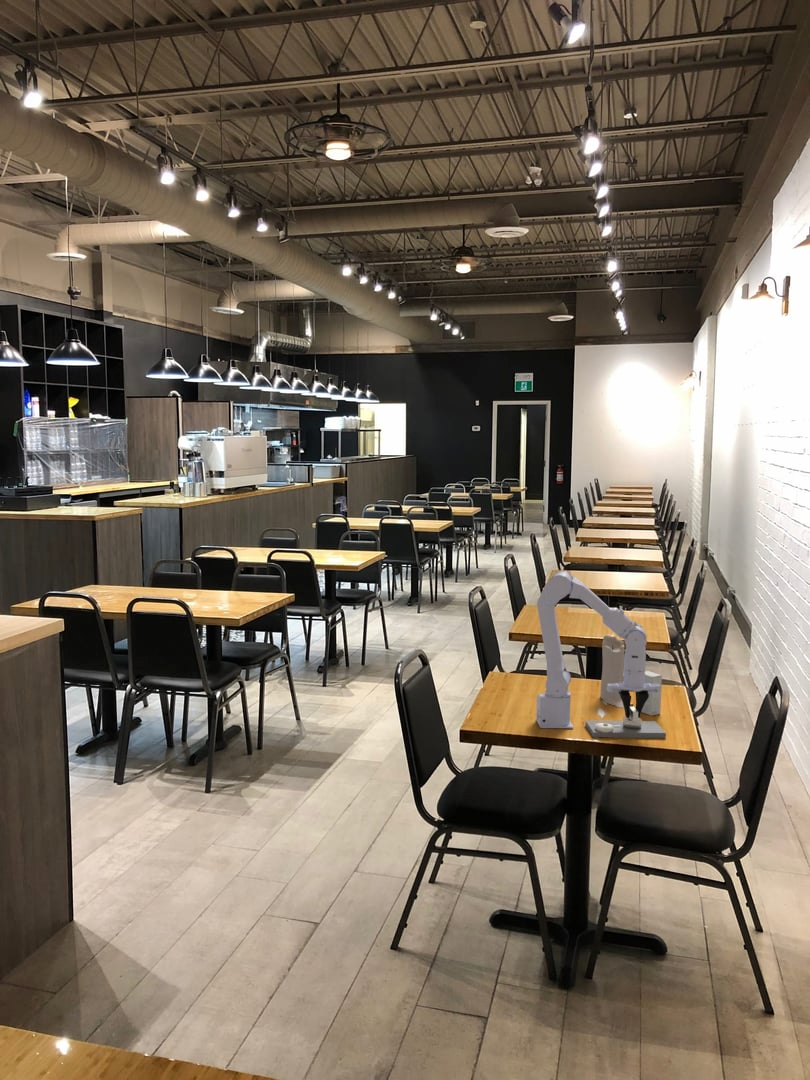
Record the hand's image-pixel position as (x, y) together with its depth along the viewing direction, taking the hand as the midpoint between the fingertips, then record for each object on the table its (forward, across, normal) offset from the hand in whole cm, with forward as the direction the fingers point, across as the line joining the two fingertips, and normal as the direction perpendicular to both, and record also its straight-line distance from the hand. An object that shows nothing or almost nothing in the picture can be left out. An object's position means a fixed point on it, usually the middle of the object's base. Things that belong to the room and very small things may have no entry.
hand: (632, 716), depth 238 cm
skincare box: (+5, +10, +18) cm, 21 cm away
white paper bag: (+5, +3, +29) cm, 30 cm away
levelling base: (+4, -2, 0) cm, 5 cm away
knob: (+3, 0, 0) cm, 3 cm away
